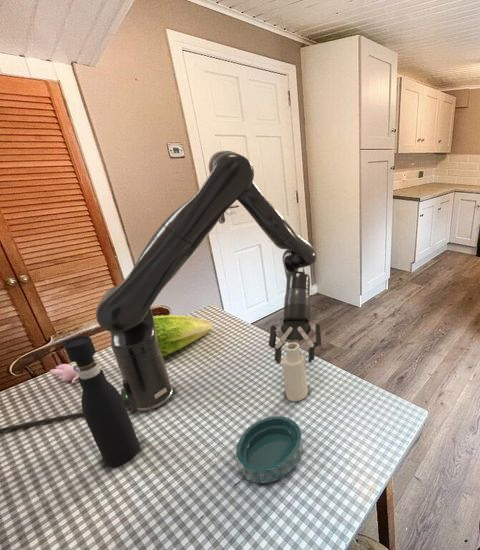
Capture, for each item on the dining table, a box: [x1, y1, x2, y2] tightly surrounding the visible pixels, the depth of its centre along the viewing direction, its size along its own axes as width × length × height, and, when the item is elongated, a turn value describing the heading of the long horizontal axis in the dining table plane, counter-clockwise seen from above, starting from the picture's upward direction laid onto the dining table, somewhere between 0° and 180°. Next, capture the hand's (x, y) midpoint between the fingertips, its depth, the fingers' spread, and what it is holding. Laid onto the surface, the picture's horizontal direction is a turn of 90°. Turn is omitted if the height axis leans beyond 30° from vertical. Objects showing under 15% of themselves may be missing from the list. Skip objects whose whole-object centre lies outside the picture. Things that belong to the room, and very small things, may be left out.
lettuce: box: [153, 314, 213, 358], centre depth 106 cm, size 14×23×14 cm
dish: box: [235, 415, 303, 484], centre depth 67 cm, size 14×14×4 cm
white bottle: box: [281, 342, 309, 402], centre depth 83 cm, size 6×6×16 cm
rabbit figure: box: [49, 363, 79, 384], centre depth 90 cm, size 6×6×15 cm
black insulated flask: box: [63, 335, 141, 468], centre depth 63 cm, size 6×6×30 cm
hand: (294, 362), depth 83 cm, fingers open, 8 cm apart
